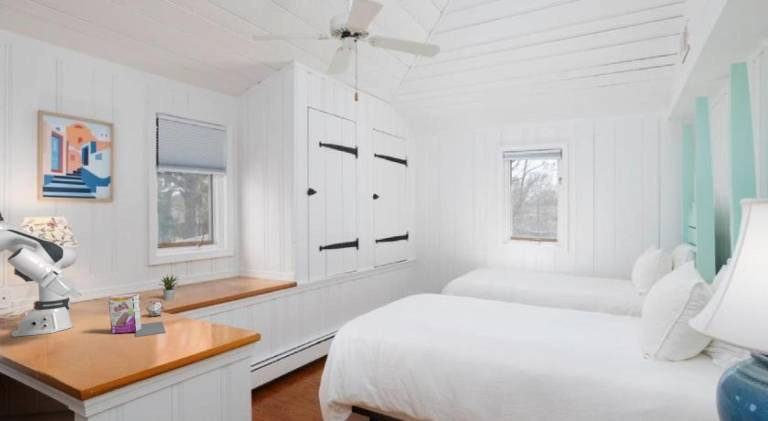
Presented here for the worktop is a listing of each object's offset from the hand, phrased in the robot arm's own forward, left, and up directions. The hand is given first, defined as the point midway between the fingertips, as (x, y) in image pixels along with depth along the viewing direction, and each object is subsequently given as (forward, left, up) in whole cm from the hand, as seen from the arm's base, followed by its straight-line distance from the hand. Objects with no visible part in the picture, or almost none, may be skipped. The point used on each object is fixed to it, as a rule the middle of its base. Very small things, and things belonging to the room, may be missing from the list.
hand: (80, 296), depth 186 cm
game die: (+30, +31, -18) cm, 47 cm away
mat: (+26, +1, -18) cm, 32 cm away
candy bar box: (+17, +1, -18) cm, 25 cm away
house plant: (+40, +82, -18) cm, 93 cm away
